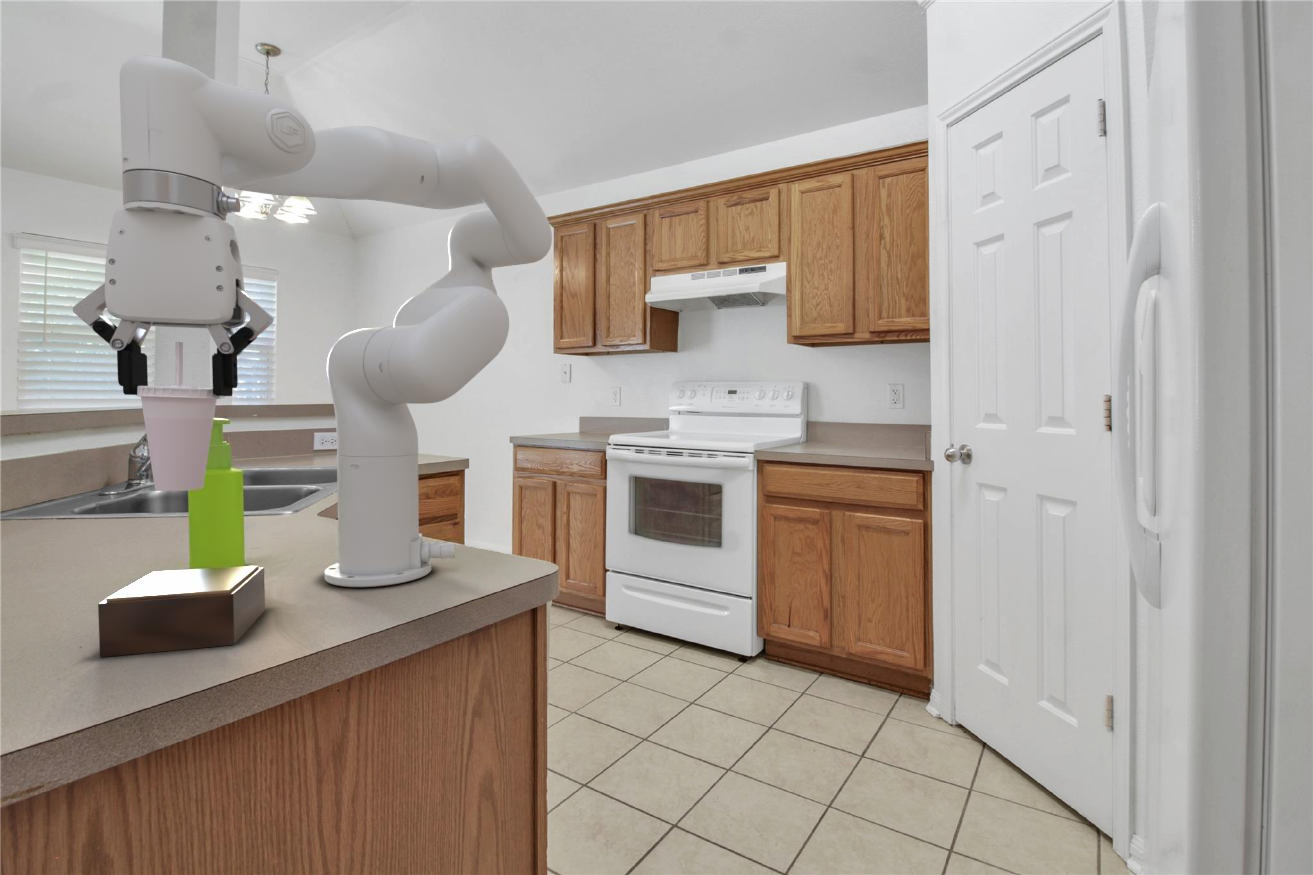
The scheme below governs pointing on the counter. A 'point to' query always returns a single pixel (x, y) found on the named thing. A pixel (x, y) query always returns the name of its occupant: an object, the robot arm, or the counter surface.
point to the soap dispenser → (217, 509)
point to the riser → (181, 610)
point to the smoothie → (178, 430)
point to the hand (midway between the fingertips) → (180, 393)
